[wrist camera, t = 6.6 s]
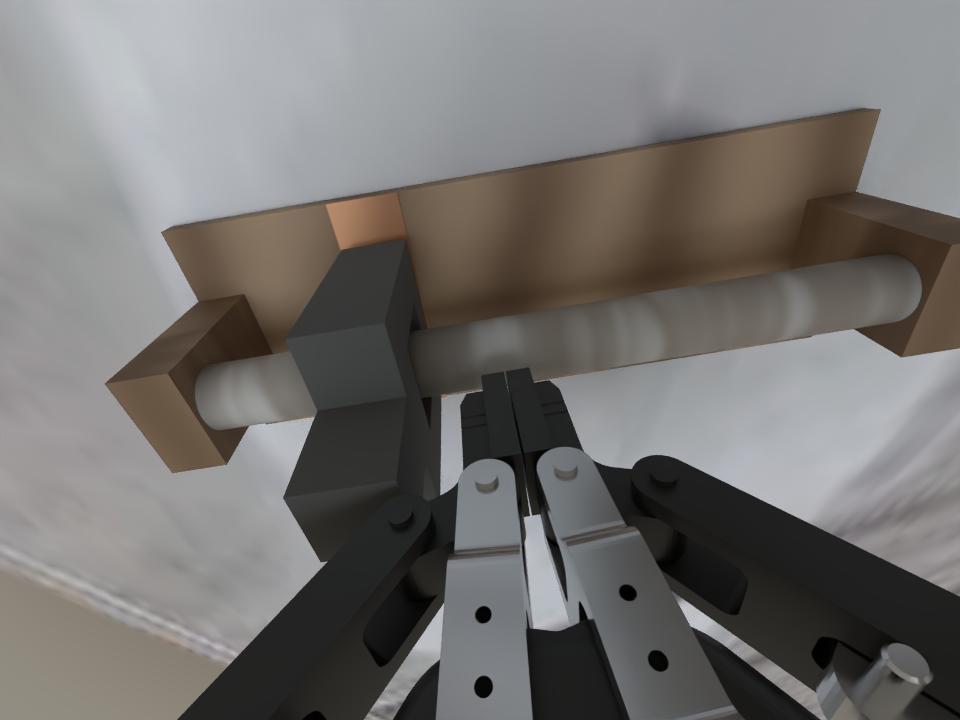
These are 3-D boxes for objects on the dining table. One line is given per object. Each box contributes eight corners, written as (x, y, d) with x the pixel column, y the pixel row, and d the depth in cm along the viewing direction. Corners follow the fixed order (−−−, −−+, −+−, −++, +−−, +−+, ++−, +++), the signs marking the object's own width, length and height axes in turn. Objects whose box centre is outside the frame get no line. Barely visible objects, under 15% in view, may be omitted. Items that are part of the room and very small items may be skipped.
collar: (406, 238, 17) (365, 396, 8) (441, 385, 20) (439, 597, 12) (341, 249, 17) (235, 417, 8) (389, 393, 20) (349, 611, 12)
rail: (863, 108, 17) (1079, 120, 11) (800, 329, 22) (925, 414, 17) (171, 226, 18) (37, 295, 12) (271, 414, 23) (212, 525, 17)
